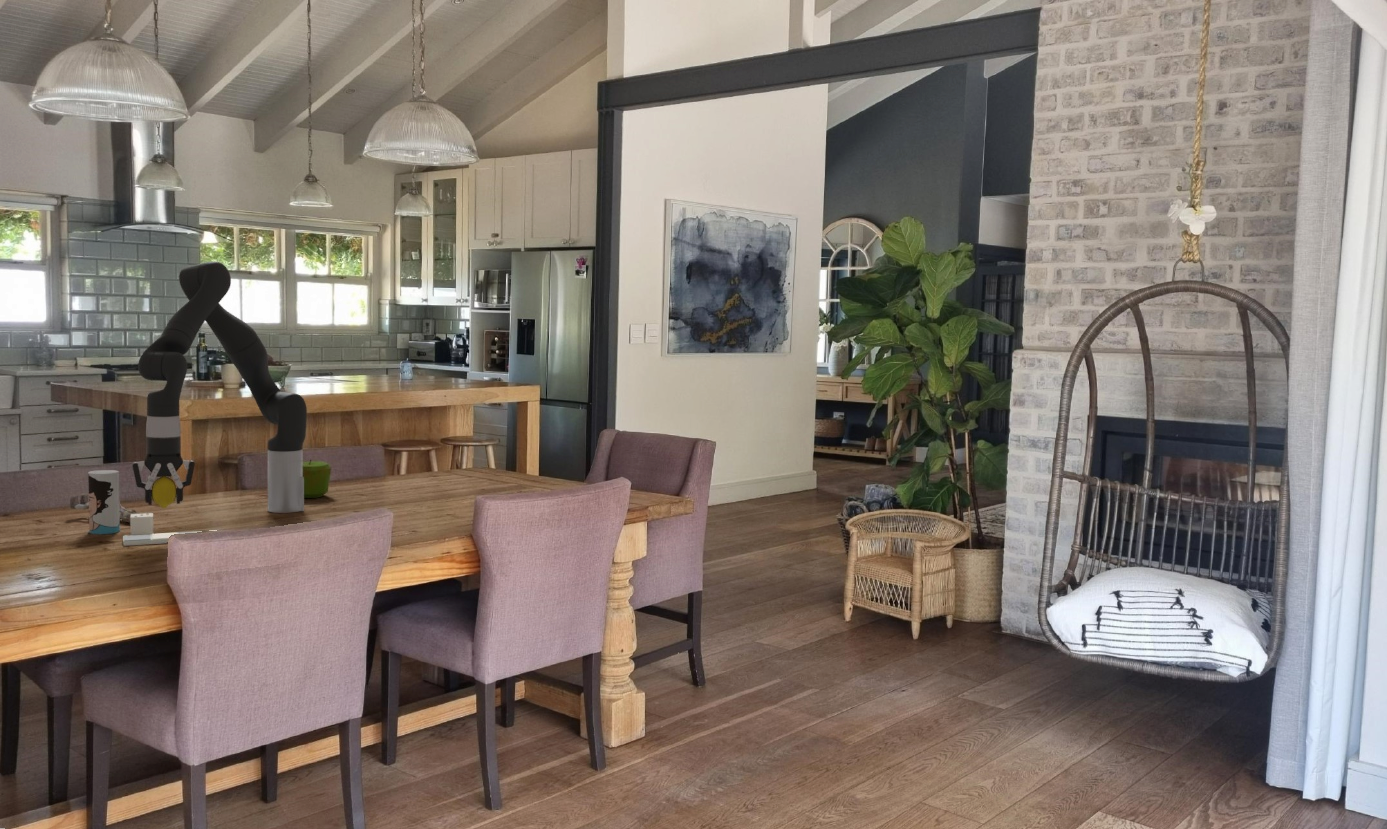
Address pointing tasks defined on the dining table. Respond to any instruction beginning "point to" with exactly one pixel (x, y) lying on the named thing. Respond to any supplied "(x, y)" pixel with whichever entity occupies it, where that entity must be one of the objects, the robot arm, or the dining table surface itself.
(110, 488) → the cup
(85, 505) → the figurine
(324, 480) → the apple
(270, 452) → the robot arm
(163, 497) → the lemon
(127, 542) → the board
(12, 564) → the dining table surface
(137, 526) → the off-white cube
